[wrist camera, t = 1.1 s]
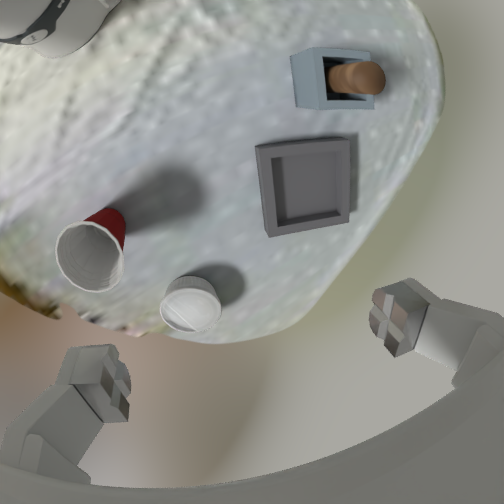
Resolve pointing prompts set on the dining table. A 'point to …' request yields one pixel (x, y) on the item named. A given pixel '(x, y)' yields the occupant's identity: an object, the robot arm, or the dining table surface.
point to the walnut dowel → (355, 78)
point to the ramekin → (190, 305)
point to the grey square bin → (313, 80)
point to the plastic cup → (93, 251)
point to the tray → (304, 184)
